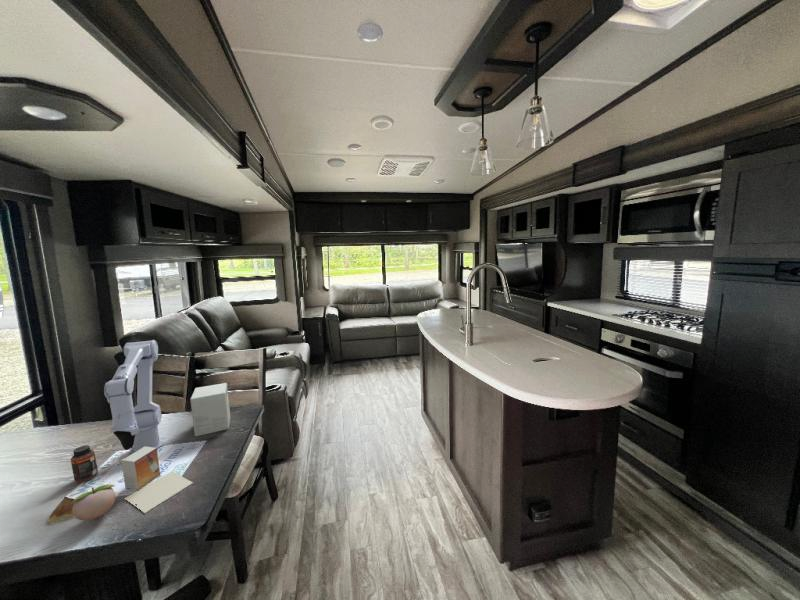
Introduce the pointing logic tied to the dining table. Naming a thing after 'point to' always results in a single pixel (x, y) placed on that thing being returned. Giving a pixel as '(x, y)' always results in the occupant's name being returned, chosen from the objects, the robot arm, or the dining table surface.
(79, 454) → the supplement bottle
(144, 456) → the small box
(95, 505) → the decorative fruit
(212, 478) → the dining table surface
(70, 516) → the tan flat wedge
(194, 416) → the supplement box
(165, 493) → the mat
